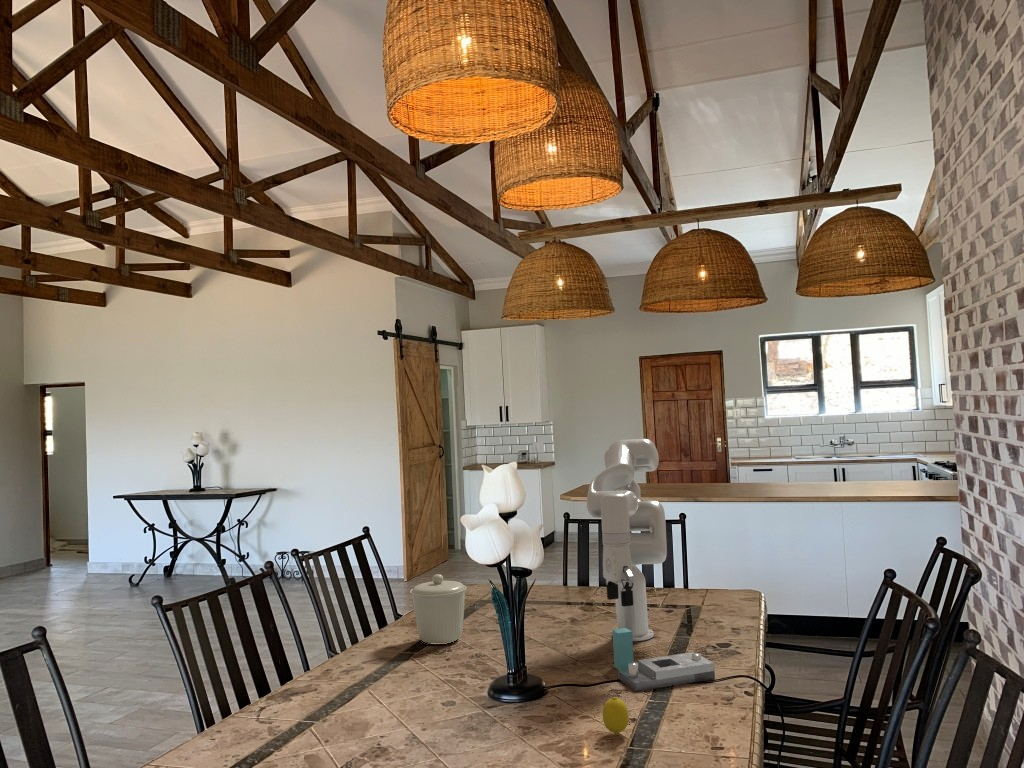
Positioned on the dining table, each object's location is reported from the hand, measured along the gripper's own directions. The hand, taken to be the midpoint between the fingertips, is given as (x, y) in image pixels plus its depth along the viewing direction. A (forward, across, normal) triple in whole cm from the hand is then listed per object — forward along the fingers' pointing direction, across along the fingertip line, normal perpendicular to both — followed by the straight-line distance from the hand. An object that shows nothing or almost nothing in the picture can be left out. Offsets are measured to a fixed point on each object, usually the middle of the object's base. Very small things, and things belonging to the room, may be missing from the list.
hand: (620, 602), depth 216 cm
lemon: (+19, +40, -20) cm, 49 cm away
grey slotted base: (+18, +12, +6) cm, 23 cm away
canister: (+18, -51, -41) cm, 67 cm away
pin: (+18, -1, 0) cm, 18 cm away
